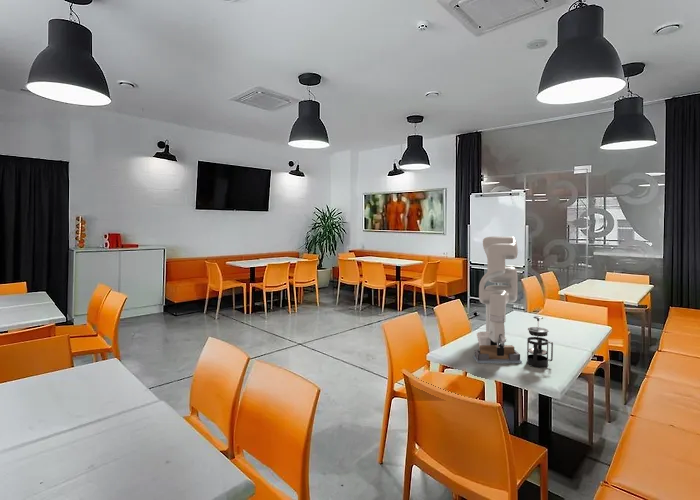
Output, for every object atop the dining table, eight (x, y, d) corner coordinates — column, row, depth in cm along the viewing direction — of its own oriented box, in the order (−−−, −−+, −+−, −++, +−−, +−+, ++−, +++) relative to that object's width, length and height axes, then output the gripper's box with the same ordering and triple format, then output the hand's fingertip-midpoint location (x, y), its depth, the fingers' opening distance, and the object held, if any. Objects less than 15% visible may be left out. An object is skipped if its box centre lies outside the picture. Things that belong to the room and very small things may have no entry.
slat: (479, 357, 193) (479, 345, 192) (511, 357, 192) (512, 345, 191) (481, 359, 190) (481, 347, 189) (514, 359, 189) (514, 347, 188)
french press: (522, 364, 184) (523, 317, 183) (527, 359, 192) (528, 313, 190) (549, 370, 177) (551, 320, 175) (554, 364, 184) (555, 316, 183)
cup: (496, 349, 207) (496, 332, 206) (497, 355, 197) (497, 337, 197) (476, 347, 210) (476, 330, 209) (476, 353, 201) (476, 336, 200)
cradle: (473, 357, 195) (473, 349, 195) (515, 357, 194) (515, 349, 194) (477, 363, 187) (477, 355, 187) (521, 363, 186) (521, 354, 186)
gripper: (484, 313, 198) (483, 346, 199) (495, 322, 181) (495, 358, 182) (499, 313, 198) (498, 346, 199) (511, 322, 180) (511, 358, 182)
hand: (496, 352), depth 190 cm, fingers open, 9 cm apart
